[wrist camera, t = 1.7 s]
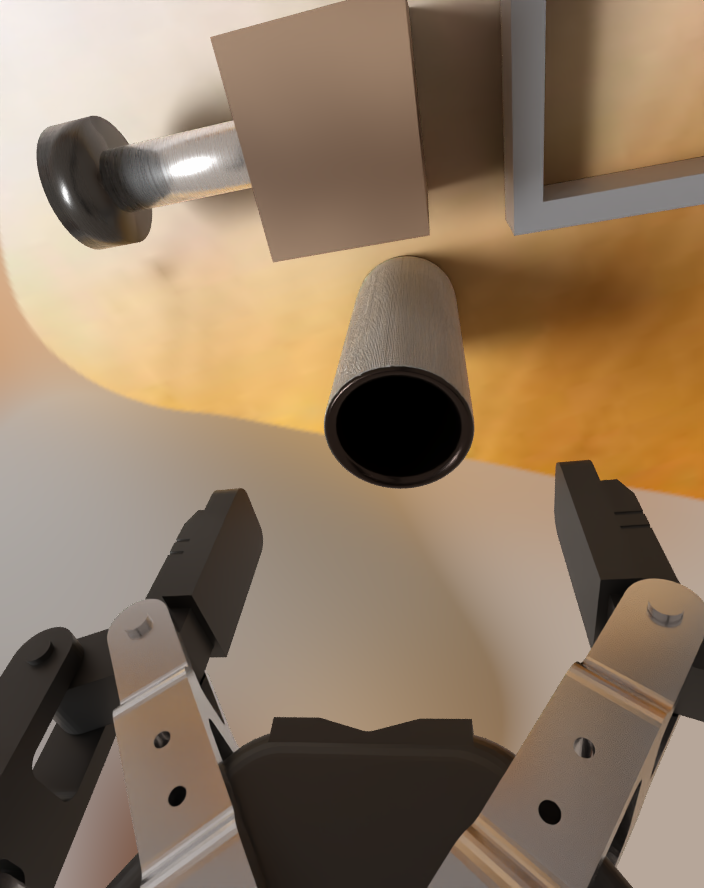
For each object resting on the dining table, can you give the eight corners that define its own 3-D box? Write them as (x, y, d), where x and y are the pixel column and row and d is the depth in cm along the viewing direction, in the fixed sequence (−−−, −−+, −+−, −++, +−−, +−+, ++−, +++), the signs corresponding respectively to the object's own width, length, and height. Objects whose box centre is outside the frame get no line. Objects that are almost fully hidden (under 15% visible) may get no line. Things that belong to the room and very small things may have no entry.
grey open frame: (498, -84, 16) (509, -104, 14) (834, -181, 14) (901, -220, 12) (505, 219, 21) (514, 235, 19) (753, 176, 19) (792, 189, 17)
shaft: (83, 120, 19) (14, 132, 16) (335, 56, 17) (315, 56, 14) (130, 232, 21) (79, 264, 18) (358, 188, 19) (345, 214, 16)
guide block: (270, 43, 19) (210, 37, 13) (408, 7, 18) (403, -15, 12) (308, 213, 22) (273, 262, 17) (427, 191, 21) (429, 235, 16)
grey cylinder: (442, 240, 22) (455, 348, 14) (465, 335, 24) (488, 475, 16) (343, 273, 23) (300, 389, 15) (374, 360, 26) (352, 501, 17)
